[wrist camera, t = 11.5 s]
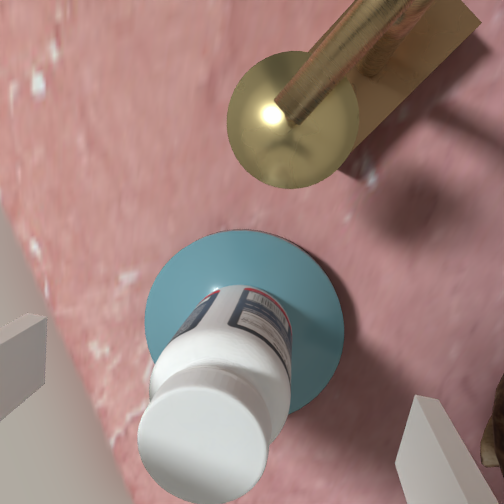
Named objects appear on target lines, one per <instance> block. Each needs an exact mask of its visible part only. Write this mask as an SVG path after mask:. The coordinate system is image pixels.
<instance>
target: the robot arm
mask: <svg viewBox="0 0 504 504" xmlns="http://www.w3.org/2000/svg"><path fill="white" fill-rule="evenodd" d="M46 334H47V317H46V316H41V315H36V314H31V313H26V314H24V315H22V316H21V317H19V318H17V319H15V320H13V321H11V322H9V323H7V324H6V325H4V326H2V327H0V421H1V420H2V419H4V418H5V417H6V416H7V415H8V414H10V413H11V412H12V411H13V410H14V409H15V408H17V407H18V406H19V405H20V404H21V403H23V402H24V401H25V400H26V399H27V398H28V397H30V396H31V395H32V394H33V393H34V392H36V391H37V390H38V389H39V388H40V387H41V386H43V385H44V384H45V362H46V336H47V335H46ZM395 466H396V469H397V472H398V475H399V479H400V482H401V485H402V488H403V491H404V495H405V498H406V501H407V504H499V503H498V501H497V499H496V498H495V496H494V494H493V492H492V491H491V489H490V487H489V486H488V484H487V482H486V480H485V479H484V477H483V475H482V474H481V472H480V470H479V468H478V467H477V465H476V463H475V462H474V460H473V458H472V456H471V455H470V453H469V451H468V449H467V448H466V446H465V444H464V443H463V441H462V439H461V437H460V436H459V434H458V432H457V431H456V429H455V427H454V425H453V424H452V422H451V420H450V418H449V417H448V415H447V413H446V412H445V410H444V408H443V406H442V405H441V403H440V401H439V400H438V399H434V398H429V397H425V396H420V395H415V396H414V400H413V403H412V406H411V410H410V413H409V417H408V420H407V423H406V427H405V430H404V434H403V437H402V441H401V444H400V447H399V451H398V454H397V458H396V461H395Z"/></svg>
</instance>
